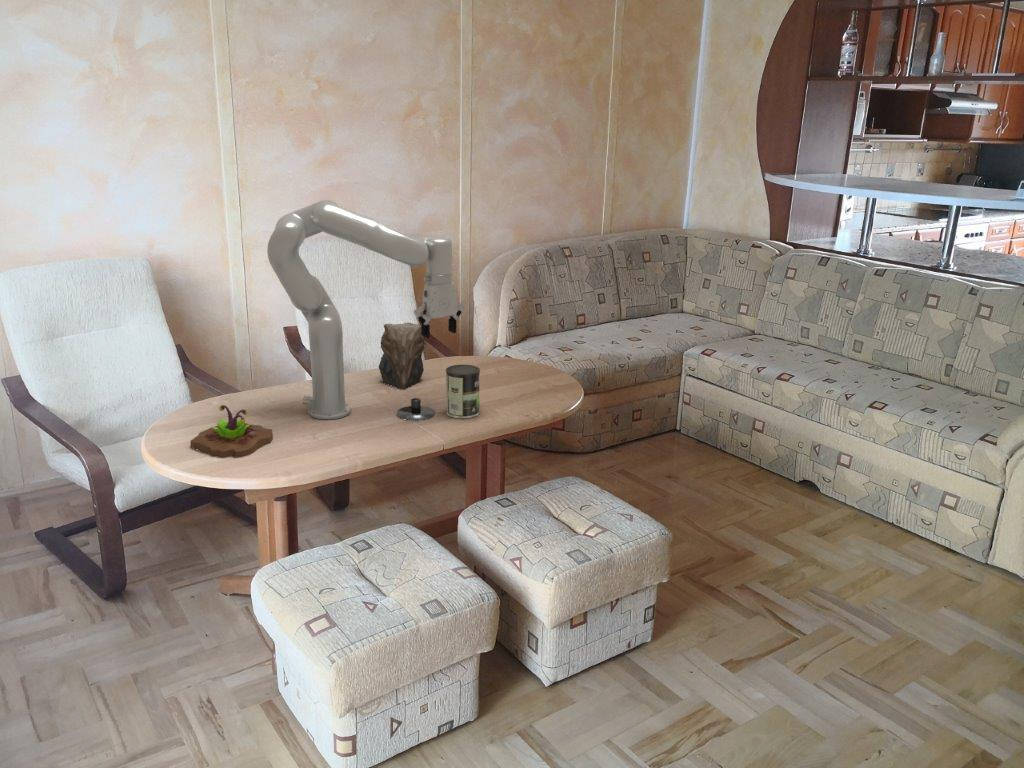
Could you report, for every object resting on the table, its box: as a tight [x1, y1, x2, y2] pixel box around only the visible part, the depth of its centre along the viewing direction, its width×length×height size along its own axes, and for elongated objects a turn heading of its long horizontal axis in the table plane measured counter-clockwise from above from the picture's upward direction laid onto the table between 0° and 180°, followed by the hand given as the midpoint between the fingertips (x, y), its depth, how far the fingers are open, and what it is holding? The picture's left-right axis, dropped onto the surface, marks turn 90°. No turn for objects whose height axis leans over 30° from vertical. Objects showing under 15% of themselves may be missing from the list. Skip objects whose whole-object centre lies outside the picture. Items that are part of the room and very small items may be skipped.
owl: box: [378, 322, 425, 391], centre depth 284 cm, size 13×13×20 cm
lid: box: [396, 397, 436, 422], centre depth 258 cm, size 12×12×5 cm
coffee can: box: [445, 364, 481, 419], centre depth 258 cm, size 10×10×14 cm
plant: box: [189, 404, 274, 459], centre depth 233 cm, size 20×20×11 cm
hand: (439, 334), depth 258 cm, fingers open, 9 cm apart
